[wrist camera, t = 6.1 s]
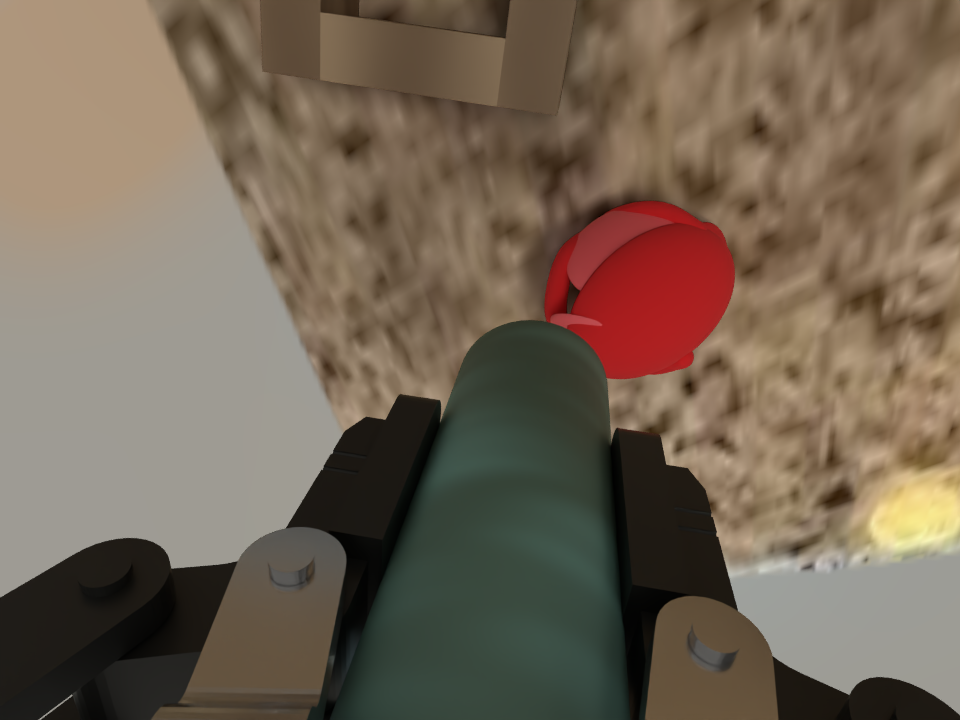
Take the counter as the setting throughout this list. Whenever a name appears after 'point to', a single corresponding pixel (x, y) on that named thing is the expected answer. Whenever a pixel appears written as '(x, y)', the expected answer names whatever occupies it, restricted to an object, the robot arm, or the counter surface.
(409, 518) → the dowel
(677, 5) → the counter surface
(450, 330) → the counter surface
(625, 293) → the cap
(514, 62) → the holed block
